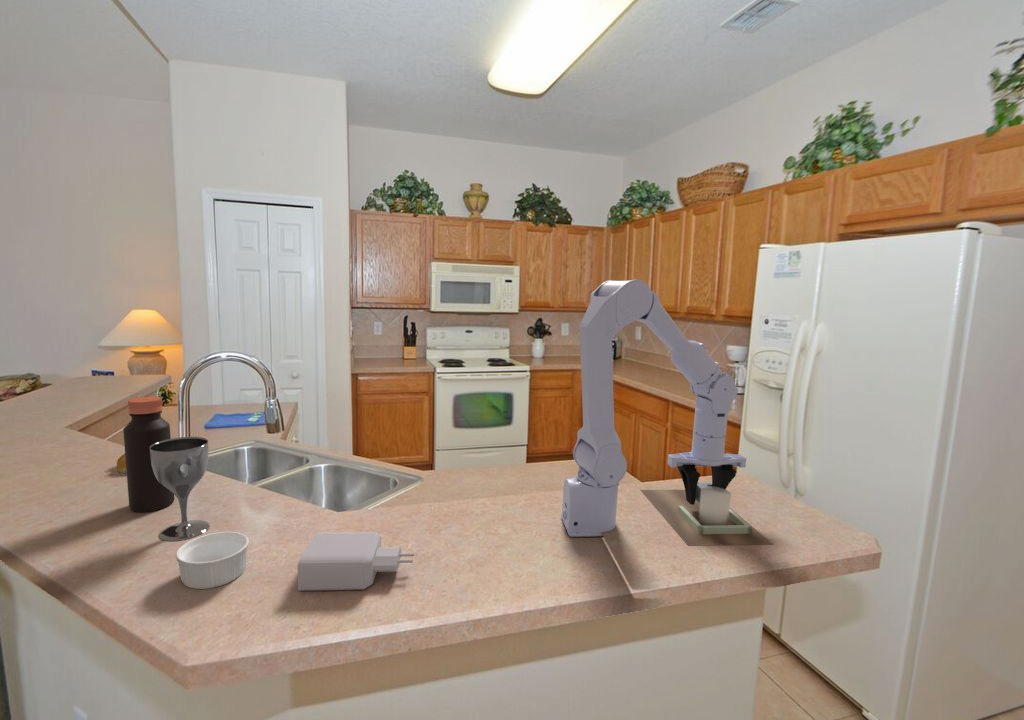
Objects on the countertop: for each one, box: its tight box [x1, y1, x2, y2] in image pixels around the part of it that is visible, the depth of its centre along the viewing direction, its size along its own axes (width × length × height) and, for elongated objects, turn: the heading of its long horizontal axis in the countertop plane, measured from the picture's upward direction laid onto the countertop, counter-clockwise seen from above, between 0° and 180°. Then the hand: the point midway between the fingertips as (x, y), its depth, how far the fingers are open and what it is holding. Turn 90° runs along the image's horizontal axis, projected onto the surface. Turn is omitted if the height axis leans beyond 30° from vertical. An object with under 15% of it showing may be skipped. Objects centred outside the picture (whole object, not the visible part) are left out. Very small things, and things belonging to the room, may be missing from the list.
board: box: [640, 489, 774, 547], centre depth 94 cm, size 15×23×1 cm, turn 5°
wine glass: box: [150, 436, 211, 542], centre depth 82 cm, size 8×8×15 cm
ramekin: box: [175, 531, 250, 590], centre depth 71 cm, size 9×9×4 cm
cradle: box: [678, 506, 753, 534], centre depth 91 cm, size 10×9×1 cm
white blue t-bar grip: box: [695, 481, 732, 526], centre depth 92 cm, size 9×5×6 cm, turn 3°
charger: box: [297, 531, 415, 592], centre depth 72 cm, size 5×9×15 cm
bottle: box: [122, 396, 175, 513], centre depth 90 cm, size 7×7×20 cm
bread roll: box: [116, 452, 127, 474], centre depth 110 cm, size 8×9×4 cm
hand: (702, 502), depth 95 cm, fingers closed on white blue t-bar grip, 4 cm apart
